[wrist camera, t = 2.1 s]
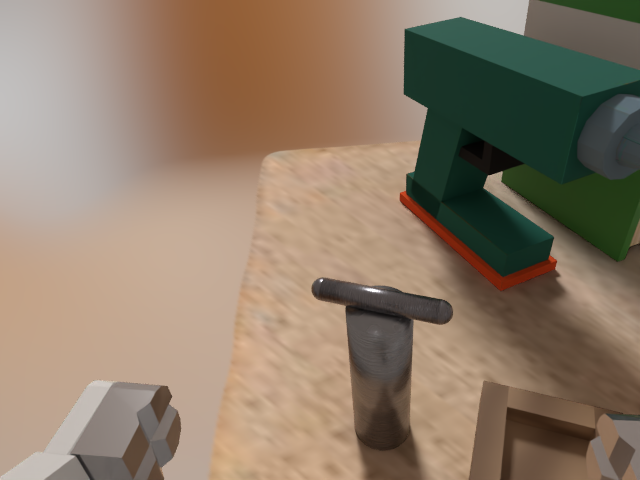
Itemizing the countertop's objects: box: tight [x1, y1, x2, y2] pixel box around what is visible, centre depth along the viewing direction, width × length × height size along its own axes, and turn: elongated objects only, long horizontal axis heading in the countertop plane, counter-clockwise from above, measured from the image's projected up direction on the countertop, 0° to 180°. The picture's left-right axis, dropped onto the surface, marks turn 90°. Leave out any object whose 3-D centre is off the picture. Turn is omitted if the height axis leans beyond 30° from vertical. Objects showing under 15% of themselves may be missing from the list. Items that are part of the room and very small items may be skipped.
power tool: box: [400, 17, 640, 291], centre depth 43 cm, size 32×7×20 cm, turn 23°
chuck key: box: [312, 278, 453, 450], centre depth 32 cm, size 8×4×13 cm, turn 69°
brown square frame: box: [469, 381, 623, 480], centre depth 32 cm, size 9×9×2 cm
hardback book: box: [501, 0, 640, 262], centre depth 48 cm, size 18×7×24 cm, turn 21°
